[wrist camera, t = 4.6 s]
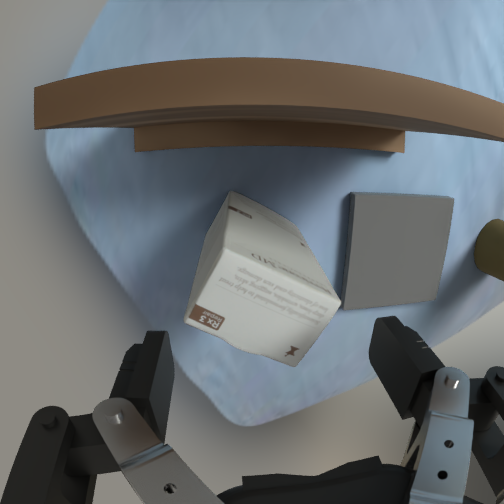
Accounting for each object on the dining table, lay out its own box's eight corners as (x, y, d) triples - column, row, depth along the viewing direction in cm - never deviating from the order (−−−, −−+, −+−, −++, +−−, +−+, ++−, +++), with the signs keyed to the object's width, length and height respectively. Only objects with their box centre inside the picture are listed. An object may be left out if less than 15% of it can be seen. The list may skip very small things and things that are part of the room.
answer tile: (350, 192, 24) (355, 194, 23) (447, 196, 25) (454, 198, 24) (339, 304, 28) (343, 310, 27) (430, 295, 29) (435, 299, 28)
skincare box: (297, 223, 25) (354, 299, 14) (269, 271, 26) (299, 372, 15) (226, 186, 24) (227, 238, 12) (200, 238, 25) (180, 327, 13)
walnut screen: (137, 85, 20) (37, 41, 7) (397, 92, 22) (531, 80, 9) (139, 151, 22) (38, 180, 9) (397, 151, 23) (529, 184, 10)
